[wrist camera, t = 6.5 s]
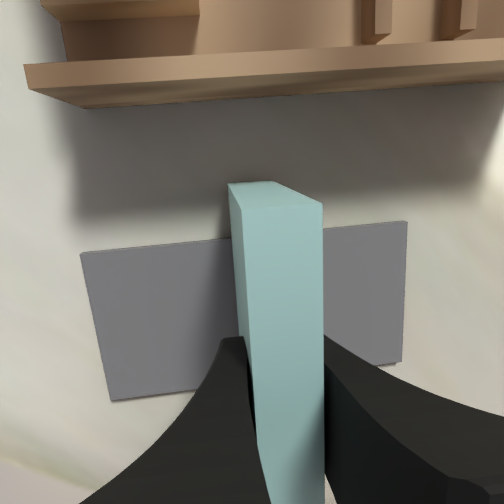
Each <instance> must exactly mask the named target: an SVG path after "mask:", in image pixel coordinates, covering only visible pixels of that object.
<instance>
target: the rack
mask: <svg viewBox="0 0 504 504" xmlns="http://www.w3.org/2000/svg"><path fill="white" fill-rule="evenodd" d="M40 2H41V6H42V7H44V8H45V9H46V10H47V11H48V12H49V13H51V14H52V15H53V16H54V17H55V18H56V19H57V20H59V21H60V24H61V30H62V35H63V40H64V45H65V50H66V56H67V61H68V62H58V63H40V64H23V66H24V70H25V75H26V79H27V84H28V88H29V89H30V90H33V91H36V92H39V93H42V94H44V95H47V96H50V97H53V98H56V99H59V100H62V101H64V102H67V103H70V104H73V105H76V106H79V107H81V108H84V109H88V108H103V107H118V106H133V105H149V104H164V103H179V102H194V101H209V100H224V99H239V98H255V97H270V96H285V95H300V94H315V93H330V92H345V91H360V90H376V89H391V88H406V87H421V86H436V85H451V84H466V83H481V82H497V81H504V0H40Z"/></svg>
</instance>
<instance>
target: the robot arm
mask: <svg viewBox="0 0 504 504" xmlns="http://www.w3.org/2000/svg"><path fill="white" fill-rule="evenodd" d="M323 338H324V471H325V475H326V477H327V480H328V482H329V484H330V487H331V489H332V492H333V494H334V497H335V500H336V503H337V504H504V417H503V416H499V415H495V414H492V413H488V412H485V411H482V410H479V409H475V408H472V407H469V406H466V405H463V404H460V403H458V402H455V401H452V400H449V399H446V398H443V397H441V396H438V395H435V394H433V393H430V392H428V391H425V390H423V389H421V388H418V387H416V386H414V385H412V384H409V383H407V382H405V381H403V380H400V379H398V378H396V377H394V376H392V375H390V374H388V373H387V372H385V371H383V370H381V369H379V368H377V367H375V366H374V365H372V364H370V363H368V362H367V361H365V360H363V359H361V358H360V357H358V356H357V355H355V354H353V353H352V352H350V351H349V350H347V349H345V348H344V347H342V346H341V345H339V344H338V343H336V342H335V341H333V340H332V339H330V338H329V337H327V336H326V335H324V334H323ZM79 504H271V500H270V497H269V493H268V489H267V485H266V481H265V477H264V473H263V468H262V464H261V460H260V455H259V451H258V446H257V441H256V437H255V432H254V427H253V421H252V415H251V401H250V387H249V372H248V358H247V348H246V344H245V340H244V337H243V336H237V337H228V338H223V339H222V340H221V341H220V345H219V348H218V351H217V354H216V356H215V358H214V361H213V363H212V365H211V367H210V368H209V370H208V372H207V374H206V376H205V378H204V380H203V381H202V383H201V384H200V386H199V388H198V389H197V391H196V392H195V394H194V396H193V397H192V399H191V400H190V401H189V403H188V404H187V406H186V407H185V408H184V410H183V411H182V412H181V413H180V415H179V416H178V417H177V418H176V420H175V421H174V422H173V423H172V424H171V425H170V427H169V428H168V429H167V430H166V431H165V432H164V433H163V434H162V435H161V437H160V438H159V439H158V440H157V441H156V442H155V443H154V444H153V445H152V446H151V447H150V448H149V449H148V450H147V451H145V452H144V453H143V454H142V455H141V456H140V457H139V458H138V459H137V460H135V461H134V462H133V463H132V464H131V465H130V466H128V467H127V468H126V469H125V470H124V471H122V472H121V473H120V474H119V475H117V476H116V477H115V478H114V479H112V480H111V481H110V482H108V483H107V484H106V485H104V486H103V487H102V488H100V489H99V490H97V491H96V492H95V493H93V494H92V495H91V496H89V497H88V498H86V499H85V500H84V501H82V502H81V503H79Z"/></svg>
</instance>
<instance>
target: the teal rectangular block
mask: <svg viewBox="0 0 504 504" xmlns="http://www.w3.org/2000/svg"><path fill="white" fill-rule="evenodd" d="M228 196H229V209H230V222H231V235H232V248H233V262H234V275H235V288H236V301H237V314H238V327H239V336H243V337H244V340H245V344H246V348H247V358H248V372H249V387H250V401H251V415H252V421H253V427H254V432H255V437H256V441H257V446H258V451H259V455H260V460H261V464H262V468H263V473H264V477H265V481H266V485H267V489H268V493H269V497H270V500H271V504H325V471H324V338H323V206H322V203H320V202H318V201H316V200H314V199H311V198H309V197H307V196H305V195H303V194H300V193H298V192H296V191H294V190H292V189H289V188H287V187H285V186H283V185H281V184H279V183H276V182H274V181H272V180H266V181H252V182H238V183H228Z"/></svg>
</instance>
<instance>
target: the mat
mask: <svg viewBox="0 0 504 504" xmlns="http://www.w3.org/2000/svg"><path fill="white" fill-rule="evenodd" d="M407 223H408V222H406V221H395V222H385V223H375V224H365V225H355V226H345V227H335V228H324V229H323V334H324V335H326V336H327V337H329V338H330V339H332V340H333V341H335V342H336V343H338V344H339V345H341V346H342V347H344V348H345V349H347V350H349V351H350V352H352V353H353V354H355V355H357V356H358V357H360V358H361V359H363V360H365V361H367V362H368V363H370V364H372V365H381V364H389V363H396V362H402V345H403V321H404V297H405V272H406V248H407ZM80 259H81V263H82V268H83V273H84V277H85V282H86V287H87V292H88V296H89V301H90V306H91V310H92V315H93V320H94V325H95V329H96V334H97V339H98V343H99V348H100V353H101V358H102V362H103V367H104V372H105V376H106V381H107V386H108V391H109V395H110V400H118V399H126V398H133V397H141V396H148V395H156V394H163V393H171V392H178V391H186V390H193V389H198V388H199V386H200V384H201V383H202V381H203V380H204V378H205V376H206V374H207V372H208V370H209V368H210V367H211V365H212V363H213V361H214V358H215V356H216V354H217V351H218V348H219V345H220V341H221V340H222V339H223V338H228V337H237V336H239V327H238V314H237V301H236V288H235V275H234V262H233V248H232V238H223V239H213V240H203V241H193V242H182V243H172V244H162V245H152V246H142V247H132V248H122V249H111V250H101V251H91V252H82V253H81V254H80Z"/></svg>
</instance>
